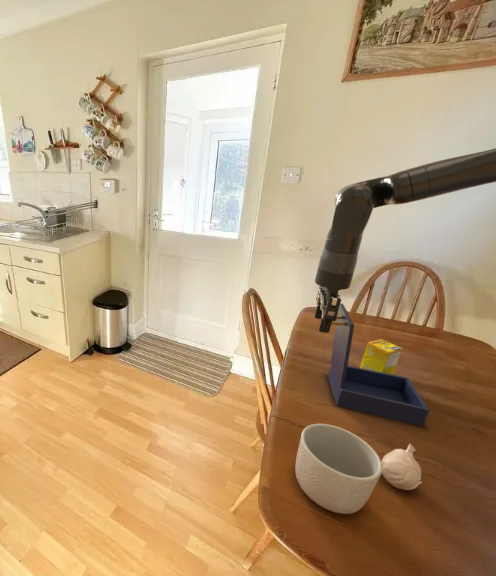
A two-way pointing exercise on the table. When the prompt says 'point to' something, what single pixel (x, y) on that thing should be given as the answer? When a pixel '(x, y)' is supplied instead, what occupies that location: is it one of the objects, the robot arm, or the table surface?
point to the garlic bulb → (402, 469)
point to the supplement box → (381, 356)
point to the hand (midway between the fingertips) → (321, 324)
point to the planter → (336, 468)
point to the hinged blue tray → (379, 395)
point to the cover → (342, 344)
